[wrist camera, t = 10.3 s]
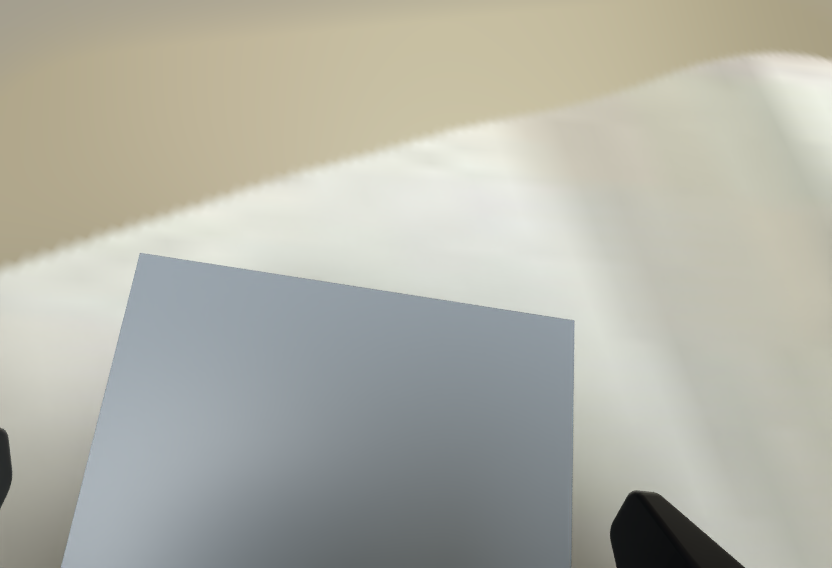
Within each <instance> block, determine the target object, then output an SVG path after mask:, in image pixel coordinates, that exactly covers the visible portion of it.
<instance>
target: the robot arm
mask: <svg viewBox="0 0 832 568" xmlns="http://www.w3.org/2000/svg"><path fill="white" fill-rule="evenodd" d="M11 481H12V465H11V456H10V448H9V440H8V435H7V432H6V431H5V430H4V429H2V428H0V508H1V506H2V504H3V502H4V500H5V498H6V496H7V493H8V491H9V488H10V485H11ZM610 539H611V545H612V549H613V553H614V558H615V562H616V567H617V568H745V567H744V566H742V565H741V564H740V563H739V562H738V561H737V560H735V559H734V558H733V557H732V556H731V555H730V554H728V553H727V552H726V551H725V550H724V549H723V548H722V547H720V546H719V545H718V544H717V543H716V542H715V541H713V540H712V539H711V538H710V537H709V536H708V535H706V534H705V533H704V532H703V531H702V530H701V529H699V528H698V527H697V526H696V525H695V524H694V523H692V522H691V521H690V520H689V519H688V518H687V517H685V516H684V515H683V514H682V513H681V512H680V511H678V510H677V509H676V508H675V507H674V506H673V505H671V504H670V503H669V502H668V501H667V500H666V499H665V498H663V497H662V496H661V495H659V494H657V493H654V492H646V491H632V492H631V493H629V494H628V496H627V497H626V499H625V501H624V503H623V505H622V506H621V508H620V510H619V512H618V514H617V515H616V517H615V519H614V521H613V523H612V525H611V529H610Z"/></svg>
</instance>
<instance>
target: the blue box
mask: <svg viewBox="0 0 832 568" xmlns="http://www.w3.org/2000/svg"><path fill="white" fill-rule="evenodd" d="M573 392H574V320H568V319H561V318H555V317H549V316H542V315H536V314H529V313H523V312H516V311H510V310H504V309H497V308H491V307H484V306H478V305H472V304H465V303H459V302H452V301H446V300H439V299H433V298H427V297H420V296H414V295H407V294H401V293H394V292H388V291H382V290H375V289H369V288H362V287H356V286H349V285H343V284H337V283H330V282H324V281H317V280H311V279H305V278H298V277H292V276H285V275H279V274H272V273H266V272H260V271H253V270H247V269H240V268H234V267H227V266H221V265H215V264H208V263H202V262H195V261H189V260H182V259H176V258H170V257H163V256H157V255H150V254H144V253H140V255H139V259H138V263H137V267H136V271H135V275H134V279H133V283H132V287H131V291H130V295H129V299H128V303H127V307H126V311H125V315H124V318H123V322H122V326H121V330H120V334H119V338H118V342H117V346H116V350H115V354H114V358H113V362H112V366H111V370H110V374H109V378H108V382H107V386H106V390H105V394H104V398H103V402H102V406H101V410H100V414H99V418H98V422H97V426H96V430H95V434H94V438H93V442H92V446H91V449H90V453H89V457H88V461H87V465H86V469H85V473H84V477H83V481H82V485H81V489H80V493H79V497H78V501H77V505H76V509H75V513H74V517H73V521H72V525H71V529H70V533H69V537H68V541H67V545H66V549H65V553H64V557H63V561H62V565H61V568H571V550H572V471H573Z"/></svg>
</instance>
